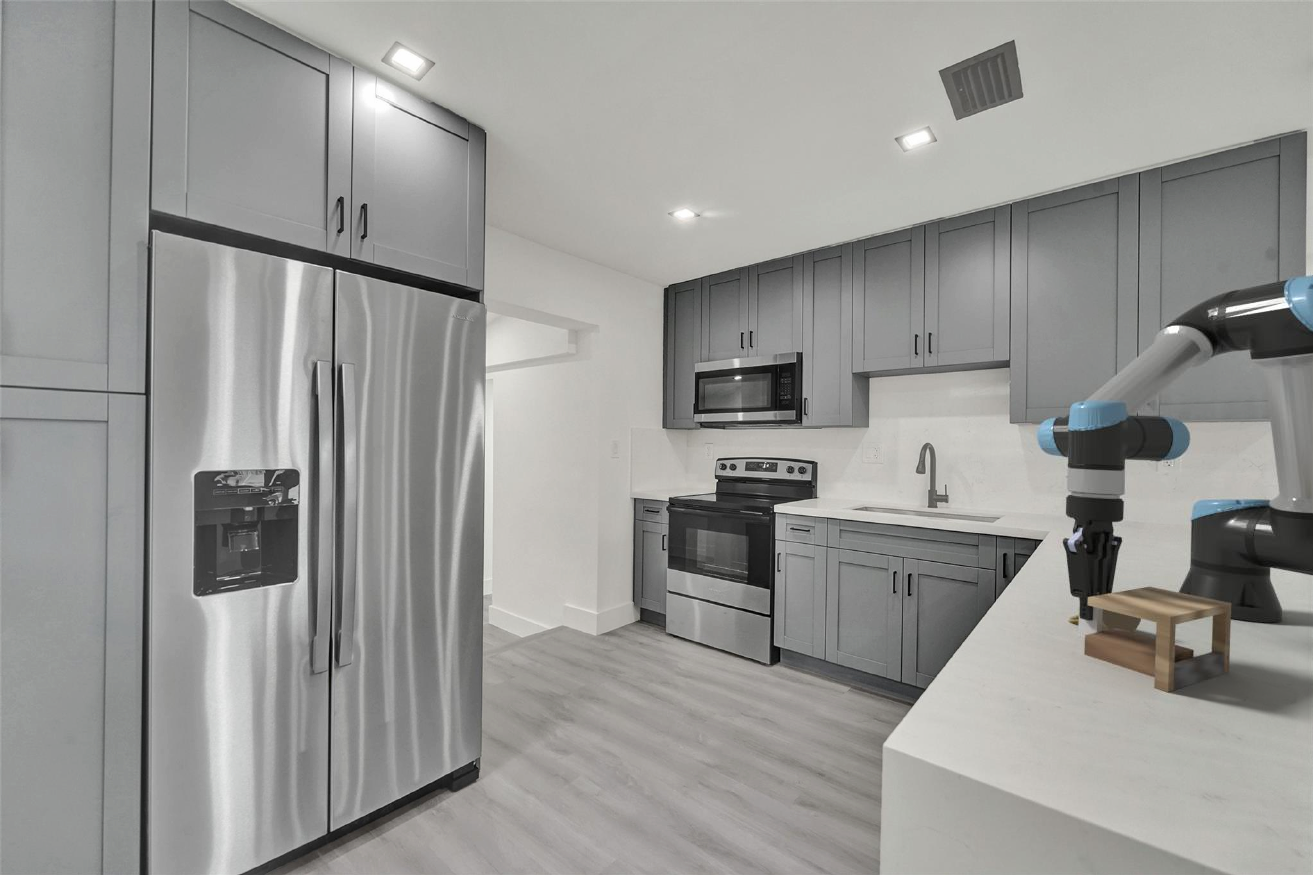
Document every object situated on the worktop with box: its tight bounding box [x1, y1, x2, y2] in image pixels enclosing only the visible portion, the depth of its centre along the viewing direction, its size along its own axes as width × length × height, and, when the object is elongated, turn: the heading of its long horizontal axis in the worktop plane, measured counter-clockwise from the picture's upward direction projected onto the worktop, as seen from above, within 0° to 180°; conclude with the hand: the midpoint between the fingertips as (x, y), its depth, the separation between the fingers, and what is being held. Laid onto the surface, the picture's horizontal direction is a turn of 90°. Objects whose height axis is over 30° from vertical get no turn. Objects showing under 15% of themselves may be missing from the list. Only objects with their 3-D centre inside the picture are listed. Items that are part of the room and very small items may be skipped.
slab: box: [1083, 628, 1195, 678], centre depth 88 cm, size 9×10×4 cm
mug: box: [1067, 607, 1142, 633], centre depth 104 cm, size 8×10×10 cm
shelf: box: [1088, 586, 1232, 693], centre depth 86 cm, size 18×10×10 cm, turn 116°
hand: (1089, 638), depth 94 cm, fingers closed
